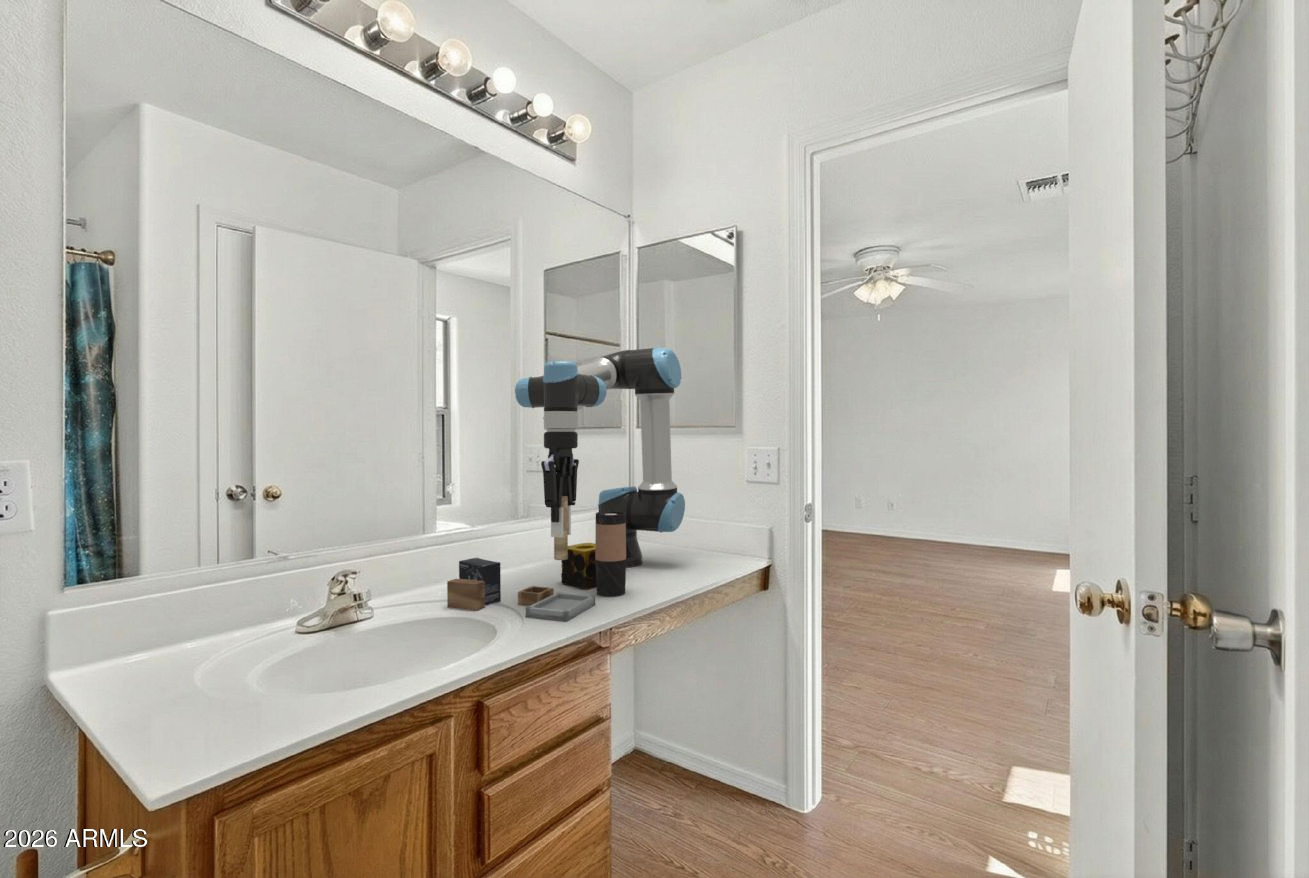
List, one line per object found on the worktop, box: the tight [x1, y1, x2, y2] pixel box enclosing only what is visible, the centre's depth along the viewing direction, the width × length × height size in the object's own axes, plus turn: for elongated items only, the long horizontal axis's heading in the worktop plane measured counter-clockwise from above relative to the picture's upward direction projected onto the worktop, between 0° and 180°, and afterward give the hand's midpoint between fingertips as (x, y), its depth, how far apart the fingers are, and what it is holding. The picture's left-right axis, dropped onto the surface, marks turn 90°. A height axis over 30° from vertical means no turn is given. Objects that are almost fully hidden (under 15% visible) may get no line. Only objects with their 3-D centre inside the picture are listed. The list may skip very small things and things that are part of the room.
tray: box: [525, 592, 596, 623], centre depth 141 cm, size 14×10×2 cm
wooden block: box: [446, 578, 486, 612], centre depth 144 cm, size 3×8×6 cm, turn 70°
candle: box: [560, 542, 596, 590], centre depth 167 cm, size 10×10×10 cm
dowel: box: [553, 496, 569, 561], centre depth 141 cm, size 3×3×14 cm
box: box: [458, 557, 502, 606], centre depth 150 cm, size 9×6×10 cm, turn 52°
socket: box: [517, 585, 555, 607], centre depth 148 cm, size 6×6×3 cm
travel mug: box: [595, 511, 627, 598], centre depth 157 cm, size 8×8×20 cm
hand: (561, 535), depth 141 cm, fingers closed on dowel, 3 cm apart
